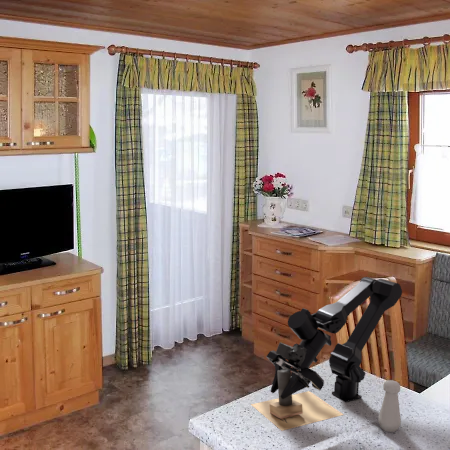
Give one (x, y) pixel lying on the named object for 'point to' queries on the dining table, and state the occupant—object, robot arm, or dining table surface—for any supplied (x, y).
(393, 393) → the salt shaker
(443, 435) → the dining table surface
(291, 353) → the robot arm
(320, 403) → the pine board
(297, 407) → the rubber stamp
